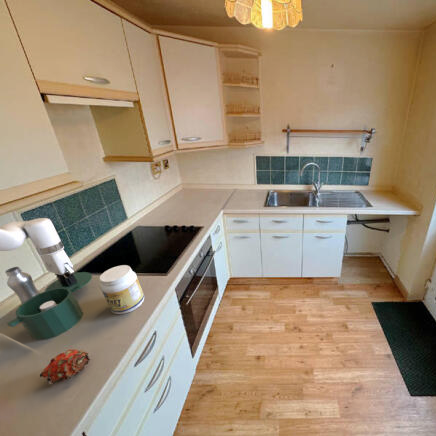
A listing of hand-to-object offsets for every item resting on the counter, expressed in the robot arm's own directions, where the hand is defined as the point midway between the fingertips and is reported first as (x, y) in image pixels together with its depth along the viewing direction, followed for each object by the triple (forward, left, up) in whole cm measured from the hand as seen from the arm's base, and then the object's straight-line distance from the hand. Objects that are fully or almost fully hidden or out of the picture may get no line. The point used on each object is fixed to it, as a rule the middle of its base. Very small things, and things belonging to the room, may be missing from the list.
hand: (68, 282), depth 101 cm
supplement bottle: (+12, -13, -7) cm, 19 cm away
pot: (+12, -13, -7) cm, 19 cm away
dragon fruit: (+38, -24, -7) cm, 46 cm away
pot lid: (0, 0, -1) cm, 1 cm away
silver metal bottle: (-7, -10, -7) cm, 15 cm away
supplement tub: (+29, +3, -7) cm, 30 cm away
